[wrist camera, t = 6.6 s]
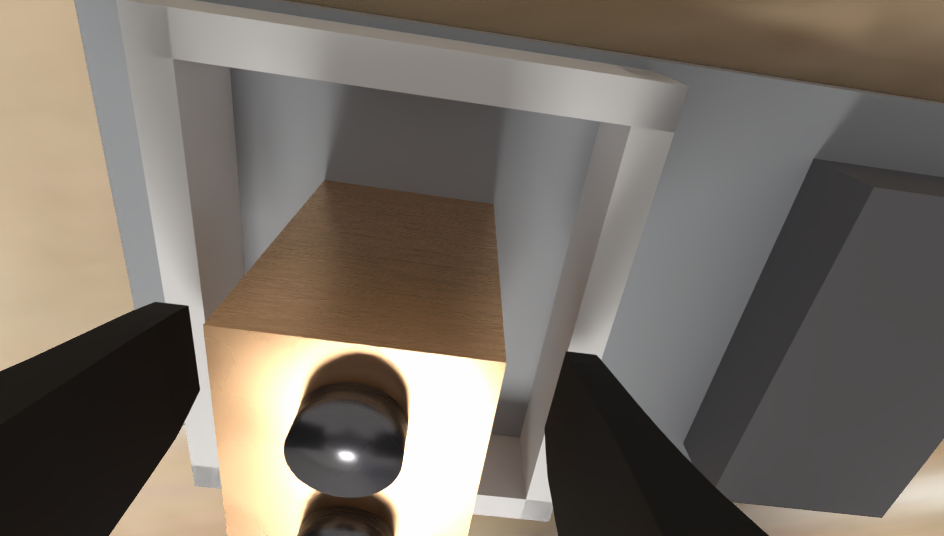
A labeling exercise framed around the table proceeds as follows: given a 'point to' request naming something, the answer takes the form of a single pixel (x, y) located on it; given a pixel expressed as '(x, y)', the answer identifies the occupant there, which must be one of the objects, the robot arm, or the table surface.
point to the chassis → (565, 225)
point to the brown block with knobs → (360, 368)
